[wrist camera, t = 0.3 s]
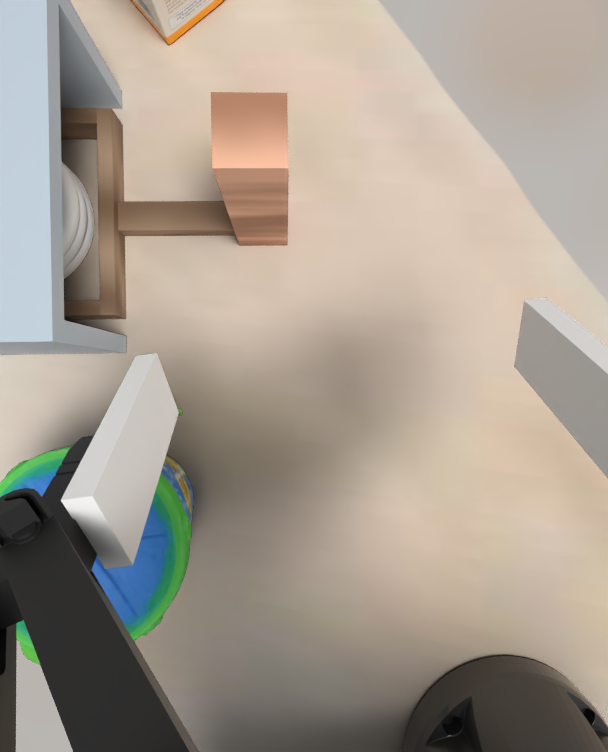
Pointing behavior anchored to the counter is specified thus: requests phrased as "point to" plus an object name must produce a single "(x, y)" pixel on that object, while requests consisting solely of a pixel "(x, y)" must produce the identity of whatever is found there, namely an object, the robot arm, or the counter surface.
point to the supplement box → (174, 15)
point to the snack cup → (154, 555)
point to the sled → (229, 217)
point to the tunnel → (42, 171)
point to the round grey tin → (75, 221)
